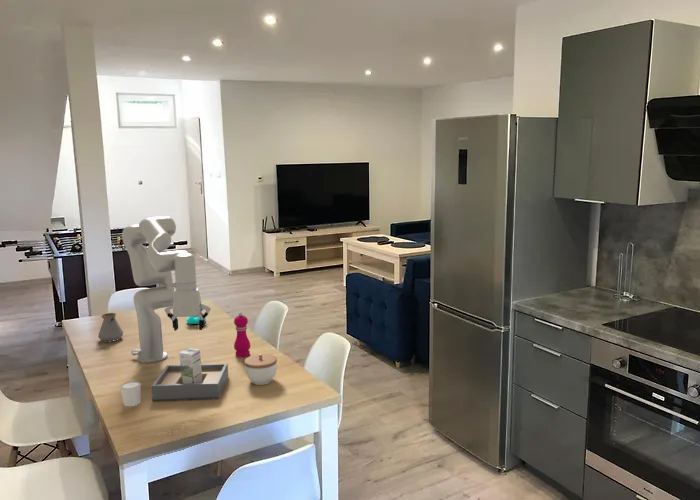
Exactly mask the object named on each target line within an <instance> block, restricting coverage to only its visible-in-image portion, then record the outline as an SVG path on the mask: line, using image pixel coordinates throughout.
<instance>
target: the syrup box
mask: <svg viewBox="0 0 700 500" xmlns="http://www.w3.org/2000/svg"><path fill="white" fill-rule="evenodd" d="M201 359H202V356H201V350H200V349H197V348H185V349H183V350H182V351H180V352H179V363H180V364H179V365H180V366H181V379H182V384H191V383H202V371H201V364H202V360H201Z"/></svg>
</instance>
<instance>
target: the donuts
mask: <svg viewBox="0 0 700 500" xmlns="http://www.w3.org/2000/svg"><path fill="white" fill-rule="evenodd" d="M203 310H205V309H203V308H202V311H203ZM199 320H200V318H199V317H198V316H190V317H187V318H186V323H187V324H188V325H191V324H197V325H199ZM206 320H207V319H206V317H205V318H204V323H205V322H206Z"/></svg>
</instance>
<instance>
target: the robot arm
mask: <svg viewBox="0 0 700 500" xmlns="http://www.w3.org/2000/svg"><path fill="white" fill-rule="evenodd" d="M176 225H177V224H176V222H175V220H174V219H173V218H172V217H170V216H167V215H165V216H152V217H146V218H144V219H142V220H140V222H139V224H132V225H128V226H125V227H124V229H122V235H121V237H122V242H123V245H124V247H125V249H126V251H127V253H128V256H129V260H130V266H131V271H132V277H133V282H134V283H135V286H138V287H147V286H152V285H158V284H159V285H160V286H155V287H149V288H144V289H140V290H138V291H136V292H134V295H133V304H134V307H135V311H136V317H137V326H138V337H139V348H138V349H136V348H135V349H134V348H133V349H131V350H130V353H131V355H132V356H137V358H136V360H137V362H139V363H141V364H151V363H157V362H161V361H163V360H165V359H167V357H168V353H167V352H166V351H164V345H163V332H162V321H161V317H160V315H159V314H158V313H156V312H155V310H159V309H164V312H165V313H166V316H167V317H168V318H169V319H170V320H171V321H172V329H173V330H174V331H178V329H179V319H178V318H177V317H179V318H181V317H183V318H184V317H187V318H188V317H190V316H198V317H199V318H200V320H199V324H198V327H199V328H198V329H199V331H202V330H203V329H204V328H205V326H206V325H205V322H204V318H206V317H208V315H209V314H210V311H211V307H210V306H208V305H205V303H203V302H202V300H201V294H200V290H199V288H197V274H196V272H197V271H196V270H197V269H196V258H195V256H194V254H193V253H189V251H187V250H184V249H181V250H173V251H171V250H170V251H166V250H167V249H168V248H169V247H170V246H171V244H172V236H174V235H175V233H176V230H177V226H176ZM144 244H148V246H147V247H146V246H144ZM173 271H174V278H175V282H174V281H173V280H174V279H173V274H172V272H173ZM202 308H203V309H204V310H205V312H204V313H203V310H202ZM171 310H172V312H171Z"/></svg>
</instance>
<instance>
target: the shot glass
mask: <svg viewBox="0 0 700 500" xmlns="http://www.w3.org/2000/svg"><path fill="white" fill-rule="evenodd" d="M141 385H142V383H141V382H138V381H129V382H126V383H124V384H122V385H120V392H121V396H122V397H121V398H122V402H123V403H122V404H123V406H124V405H125V406H124V407H126V406H133V407H136V406H138V405H140V404H141V398H142V397H141V396H142V395H141V392H142V391H141V387H142V386H141ZM139 403H140V404H139ZM137 404H138V405H137ZM135 405H136V406H135Z"/></svg>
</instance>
